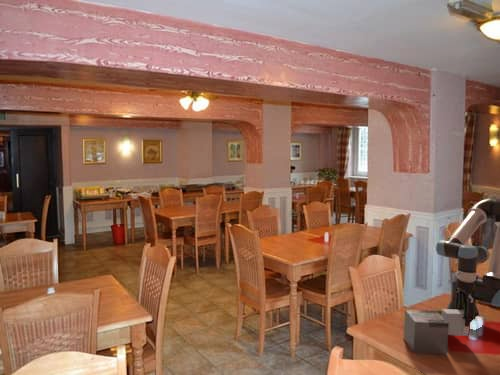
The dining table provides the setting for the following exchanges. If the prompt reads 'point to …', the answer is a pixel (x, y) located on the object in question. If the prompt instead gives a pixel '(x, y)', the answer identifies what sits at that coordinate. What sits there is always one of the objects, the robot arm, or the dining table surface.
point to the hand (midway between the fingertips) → (462, 329)
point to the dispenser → (426, 332)
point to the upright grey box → (454, 321)
